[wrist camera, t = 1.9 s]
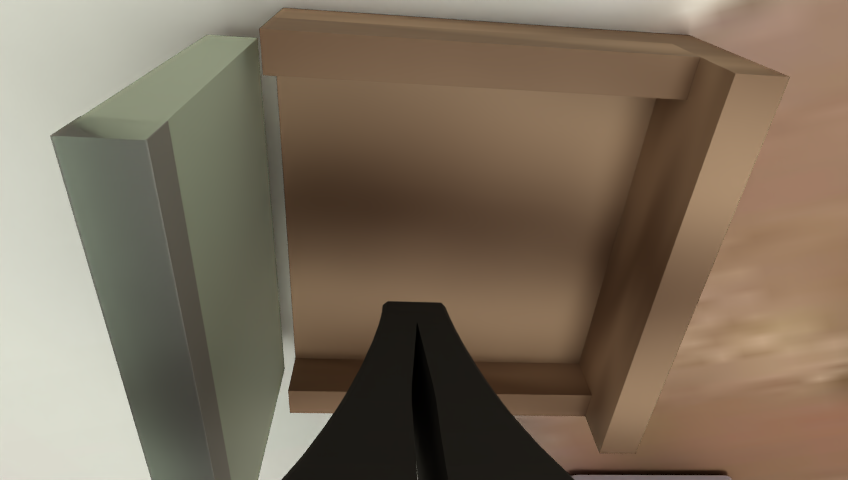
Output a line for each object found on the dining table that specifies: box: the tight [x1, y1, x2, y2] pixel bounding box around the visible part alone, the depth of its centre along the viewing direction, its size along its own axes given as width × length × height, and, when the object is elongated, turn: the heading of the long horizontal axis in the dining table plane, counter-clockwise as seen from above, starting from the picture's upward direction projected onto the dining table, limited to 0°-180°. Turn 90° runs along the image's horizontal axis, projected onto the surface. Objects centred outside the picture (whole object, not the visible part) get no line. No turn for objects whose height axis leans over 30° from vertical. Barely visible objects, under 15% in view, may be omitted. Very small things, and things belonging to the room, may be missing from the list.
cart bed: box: [259, 8, 790, 454], centre depth 16 cm, size 12×11×4 cm
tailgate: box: [50, 35, 285, 480], centre depth 13 cm, size 11×1×7 cm, turn 176°
